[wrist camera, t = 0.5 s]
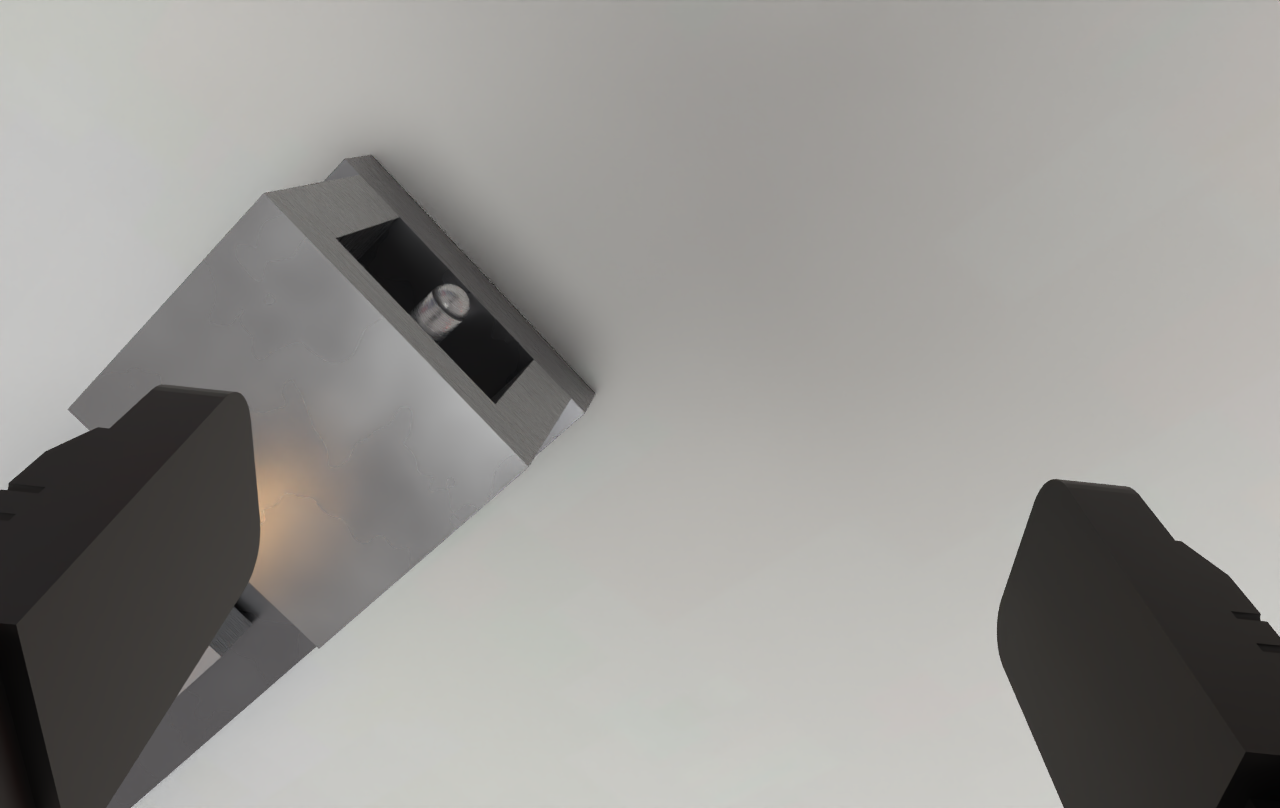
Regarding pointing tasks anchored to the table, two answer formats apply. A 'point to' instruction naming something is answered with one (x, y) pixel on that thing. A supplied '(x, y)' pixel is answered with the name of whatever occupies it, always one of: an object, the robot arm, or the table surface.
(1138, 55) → the table surface
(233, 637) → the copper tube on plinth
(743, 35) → the table surface
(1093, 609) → the robot arm
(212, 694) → the rail
